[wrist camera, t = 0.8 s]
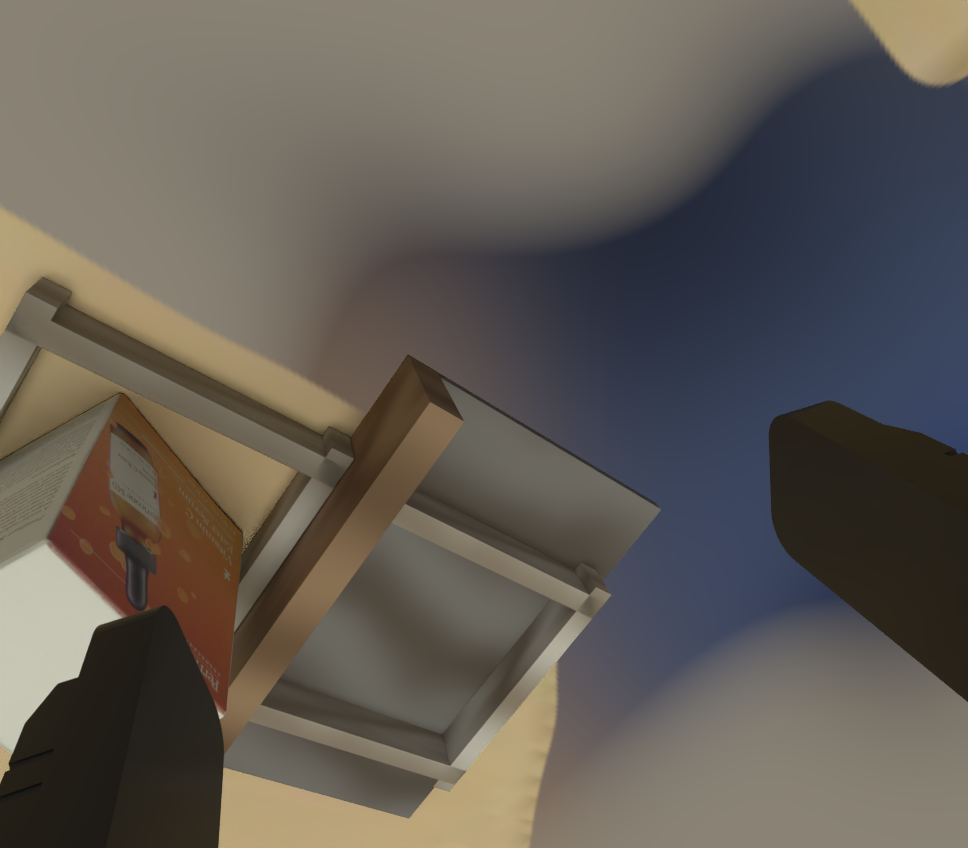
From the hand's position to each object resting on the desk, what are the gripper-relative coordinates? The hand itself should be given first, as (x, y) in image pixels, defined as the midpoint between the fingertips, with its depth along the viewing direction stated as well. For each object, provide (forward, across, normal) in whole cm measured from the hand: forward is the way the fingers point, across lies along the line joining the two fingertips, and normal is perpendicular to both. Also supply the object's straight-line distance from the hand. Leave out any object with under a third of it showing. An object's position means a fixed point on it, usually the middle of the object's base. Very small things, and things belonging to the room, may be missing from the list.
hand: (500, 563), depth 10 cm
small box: (+22, +11, +7) cm, 25 cm away
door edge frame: (+22, +6, +12) cm, 25 cm away
